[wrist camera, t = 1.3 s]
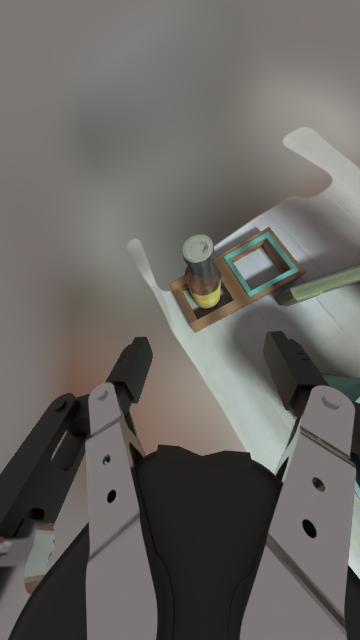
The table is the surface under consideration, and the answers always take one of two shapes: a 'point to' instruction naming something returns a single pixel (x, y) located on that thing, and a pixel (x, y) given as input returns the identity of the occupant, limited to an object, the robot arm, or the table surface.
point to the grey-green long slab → (319, 286)
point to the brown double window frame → (235, 282)
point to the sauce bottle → (202, 271)
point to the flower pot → (356, 392)
